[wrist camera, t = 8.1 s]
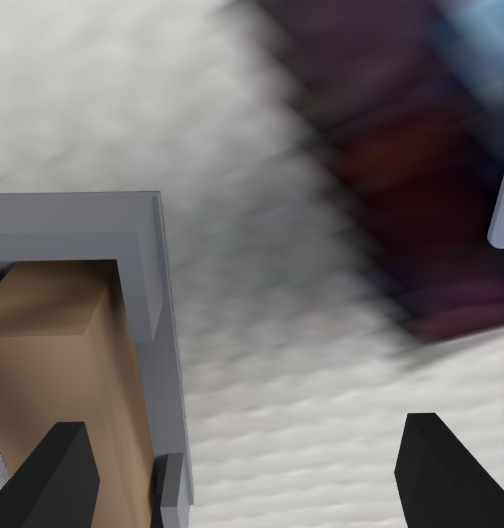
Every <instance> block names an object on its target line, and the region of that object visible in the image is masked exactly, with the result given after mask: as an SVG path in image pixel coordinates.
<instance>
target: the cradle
mask: <svg viewBox="0 0 504 528" xmlns="http://www.w3.org/2000/svg"><path fill="white" fill-rule="evenodd" d="M100 259H117V264H118V270H119V276H120V281H121V287H122V293H123V298H124V304H125V310H126V315H127V321H128V327H129V333H130V338H131V342H135V347H136V353H137V359H138V365H139V371H140V376H141V382H142V388H143V394H144V400H145V405H146V411H147V417H148V423H149V429H150V434H151V440H152V446H153V452H154V458H155V463H156V469H157V475H158V482H157V488H156V494H155V500H154V505H153V511H152V517H151V523H150V528H188V520H189V510H190V505H192V504H194V488H193V479H192V470H191V461H190V452H189V443H188V434H187V425H186V416H185V408H184V399H183V390H182V381H181V372H180V363H179V354H178V345H177V336H176V328H175V319H174V310H173V301H172V292H171V283H170V274H169V265H168V256H167V247H166V239H165V230H164V221H163V212H162V203H161V194H160V191H142V192H78V193H15V194H0V282H1V280H2V279H3V278H4V277H5V276H6V275H7V273H8V272H9V271H10V270H11V269H12V268H13V267H14V265H15V264H16V263H17V262H18V261H45V260H100Z"/></svg>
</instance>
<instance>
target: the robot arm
mask: <svg viewBox="0 0 504 528" xmlns="http://www.w3.org/2000/svg"><path fill="white" fill-rule="evenodd" d="M487 239H488V241H489V243H490V244H491V245H492V246H494V247H495V248H500V249H503V248H504V176H503V180H502V184H501V187H500V191H499V194H498V198H497V202H496V205H495V209H494V213H493V216H492V220H491V224H490V227H489V231H488V235H487ZM394 474H395V478H396V482H397V487H398V491H399V495H400V500H401V504H402V508H403V512H404V516H405V520H406V523H407V526H408V528H504V490H503V489H502V488H501V487H500V486H499V485H498V483H497V482H496V481H495V480H494V479H493V478H492V477H491V476H490V475H489V474H488V472H487V471H486V470H485V469H484V468H483V467H482V466H481V465H480V464H479V462H478V461H477V460H476V459H475V458H474V457H473V456H472V455H471V453H470V452H469V451H468V450H467V449H466V448H465V447H464V445H463V444H462V443H461V442H460V441H459V440H458V438H457V437H456V436H455V435H454V434H453V433H452V431H451V430H450V429H449V428H448V427H447V426H446V425H445V423H444V422H443V421H442V420H441V419H440V418H439V416H438V415H436V414H435V413H408V414H407V418H406V423H405V427H404V432H403V436H402V440H401V445H400V449H399V454H398V458H397V462H396V467H395V471H394ZM99 485H100V477H99V473H98V470H97V466H96V462H95V459H94V455H93V451H92V448H91V444H90V440H89V436H88V433H87V429H86V425H85V422H84V421H79V422H56V423H55V424H54V425H53V426H52V427H51V429H50V430H49V431H48V432H47V434H46V435H45V436H44V437H43V439H42V440H41V441H40V442H39V444H38V445H37V446H36V447H35V449H34V450H33V451H32V452H31V454H30V455H29V456H28V457H27V459H26V460H25V461H24V462H23V464H22V465H21V466H20V467H19V468H18V470H17V471H16V472H15V473H14V474H13V476H12V477H11V478H10V479H9V481H8V482H7V483H6V484H5V485H4V486H3V488H2V489H1V490H0V528H91V525H92V520H93V515H94V511H95V506H96V501H97V495H98V490H99Z"/></svg>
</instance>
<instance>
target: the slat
mask: <svg viewBox="0 0 504 528" xmlns="http://www.w3.org/2000/svg"><path fill="white" fill-rule="evenodd" d="M79 421H84V422H85V425H86V429H87V433H88V436H89V440H90V444H91V448H92V451H93V455H94V459H95V462H96V466H97V470H98V473H99V477H100V485H99V490H98V495H97V501H96V506H95V511H94V515H93V520H92V525H91V528H150V523H151V517H152V511H153V505H154V500H155V494H156V488H157V482H158V475H157V469H156V463H155V458H154V452H153V446H152V440H151V434H150V429H149V423H148V417H147V411H146V405H145V400H144V394H143V388H142V382H141V376H140V371H139V365H138V359H137V353H136V347H135V342H131V338H130V333H129V327H128V321H127V315H126V310H125V304H124V298H123V293H122V287H121V281H120V276H119V270H118V264H117V259H100V260H45V261H18V262H17V263H16V264H15V265H14V267H13V268H12V269H11V270H10V271H9V272H8V273H7V275H6V276H5V277H4V278H3V279H2V280H1V282H0V453H1V456H2V458H3V460H4V463H5V465H6V467H7V470H8V472H9V475H10V477H12V476H13V474H14V473H15V472H16V471H17V470H18V468H19V467H20V466H21V465H22V464H23V462H24V461H25V460H26V459H27V457H28V456H29V455H30V454H31V452H32V451H33V450H34V449H35V447H36V446H37V445H38V444H39V442H40V441H41V440H42V439H43V437H44V436H45V435H46V434H47V432H48V431H49V430H50V429H51V427H52V426H53V425H54V424H55V423H56V422H79Z"/></svg>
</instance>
